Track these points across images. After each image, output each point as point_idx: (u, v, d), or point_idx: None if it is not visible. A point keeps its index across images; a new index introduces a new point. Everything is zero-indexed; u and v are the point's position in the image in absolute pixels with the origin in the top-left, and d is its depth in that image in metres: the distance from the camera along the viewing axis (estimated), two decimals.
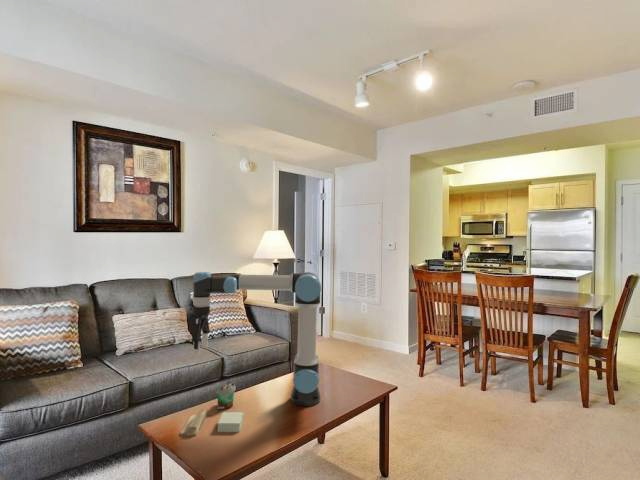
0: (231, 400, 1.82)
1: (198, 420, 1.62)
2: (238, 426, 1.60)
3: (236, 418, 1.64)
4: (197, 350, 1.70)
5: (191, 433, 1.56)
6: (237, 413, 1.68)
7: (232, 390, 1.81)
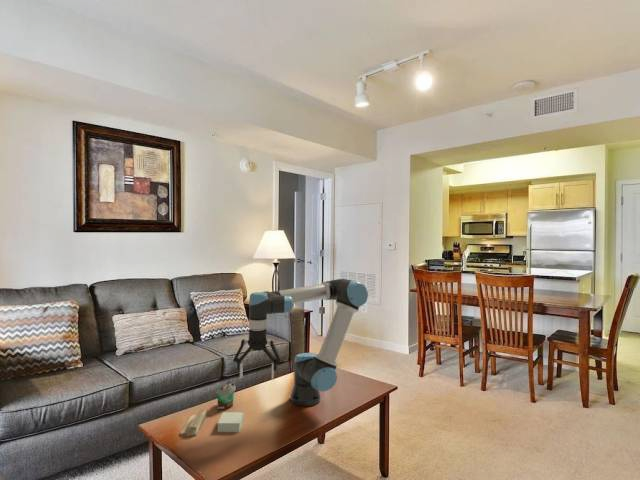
0: (231, 400, 1.82)
1: (198, 420, 1.62)
2: (238, 426, 1.60)
3: (236, 418, 1.64)
4: None
5: (191, 433, 1.56)
6: (237, 413, 1.68)
7: (232, 390, 1.81)
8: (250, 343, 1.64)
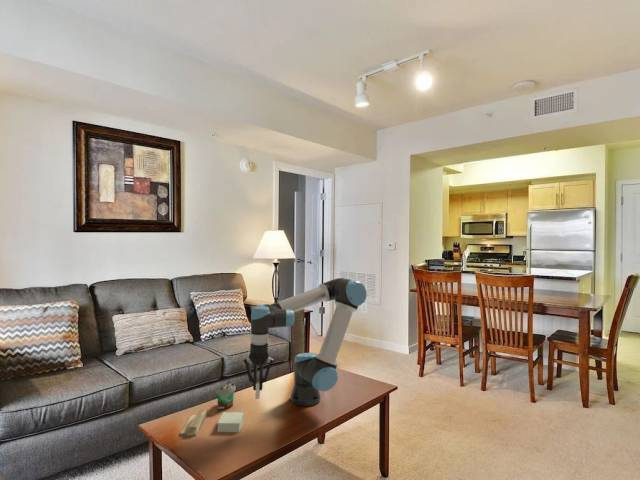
0: (231, 400, 1.82)
1: (198, 420, 1.62)
2: (238, 426, 1.60)
3: (236, 418, 1.64)
4: None
5: (191, 433, 1.56)
6: (237, 413, 1.68)
7: (232, 390, 1.81)
8: (252, 357, 1.63)
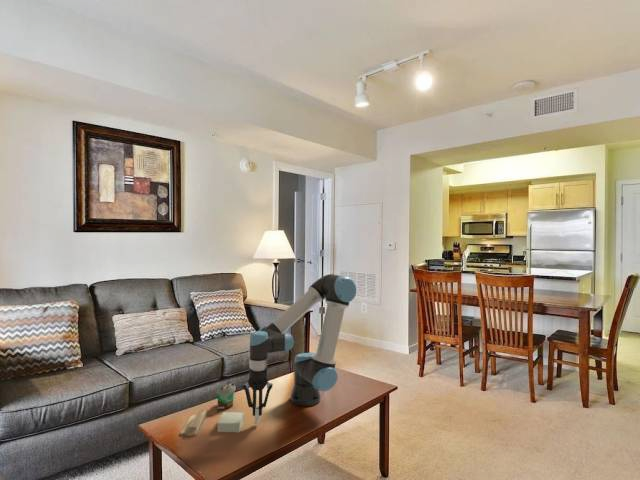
0: (231, 400, 1.82)
1: (198, 420, 1.62)
2: (238, 426, 1.60)
3: (236, 418, 1.64)
4: (255, 417, 1.64)
5: (191, 433, 1.56)
6: (237, 413, 1.68)
7: (232, 390, 1.81)
8: (251, 382, 1.64)
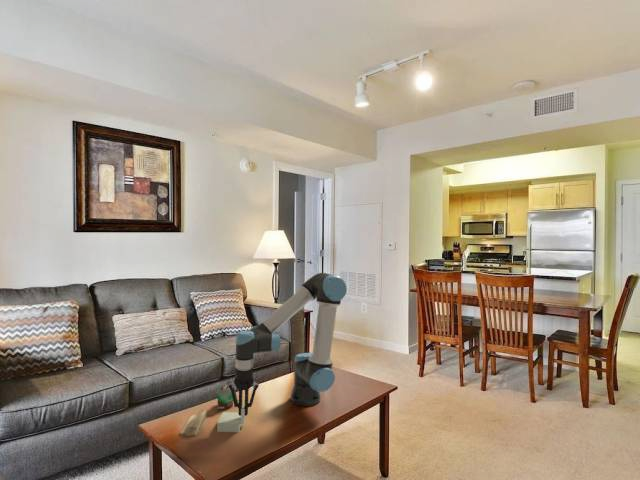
0: (231, 400, 1.82)
1: (198, 420, 1.62)
2: (237, 426, 1.60)
3: (236, 418, 1.64)
4: (241, 417, 1.64)
5: (191, 433, 1.56)
6: (237, 413, 1.68)
7: None
8: (237, 382, 1.63)
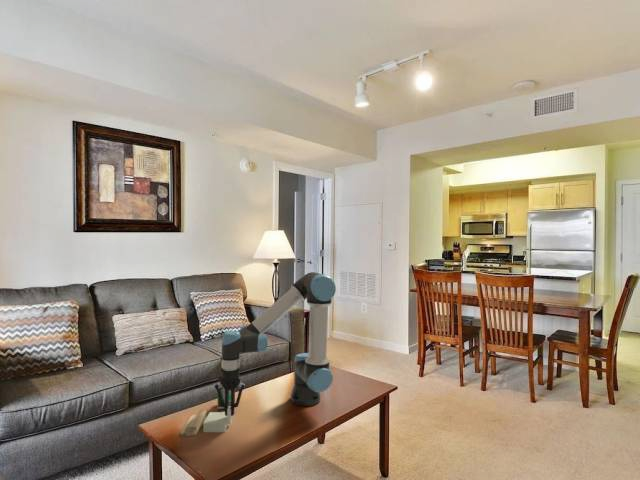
0: None
1: (198, 420, 1.62)
2: (224, 426, 1.59)
3: (222, 418, 1.64)
4: None
5: (191, 433, 1.56)
6: (223, 413, 1.68)
7: None
8: (223, 382, 1.63)
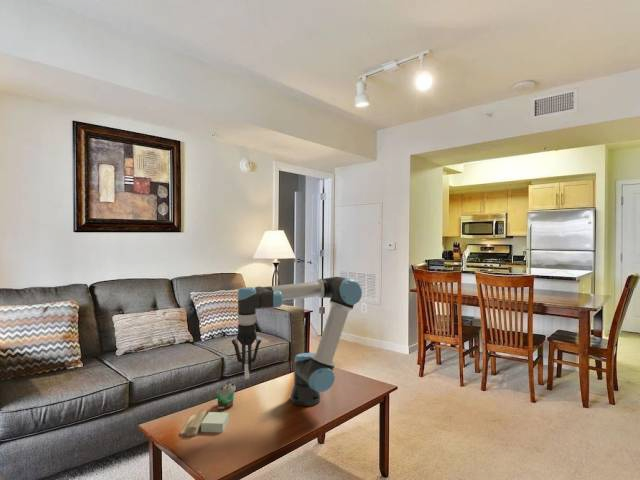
0: (231, 400, 1.82)
1: (198, 420, 1.62)
2: (221, 426, 1.59)
3: (221, 418, 1.63)
4: None
5: (191, 433, 1.56)
6: (222, 414, 1.68)
7: (232, 390, 1.81)
8: (240, 337, 1.64)
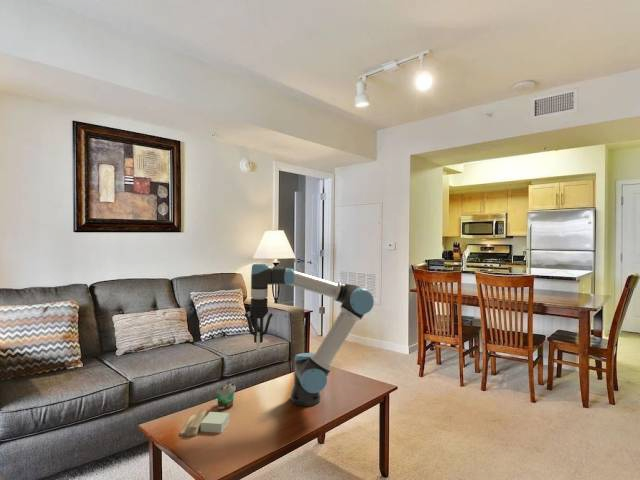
0: (231, 400, 1.82)
1: (198, 420, 1.62)
2: (220, 426, 1.59)
3: (220, 418, 1.63)
4: None
5: (191, 433, 1.56)
6: (222, 414, 1.67)
7: (232, 390, 1.81)
8: (252, 311, 1.72)
